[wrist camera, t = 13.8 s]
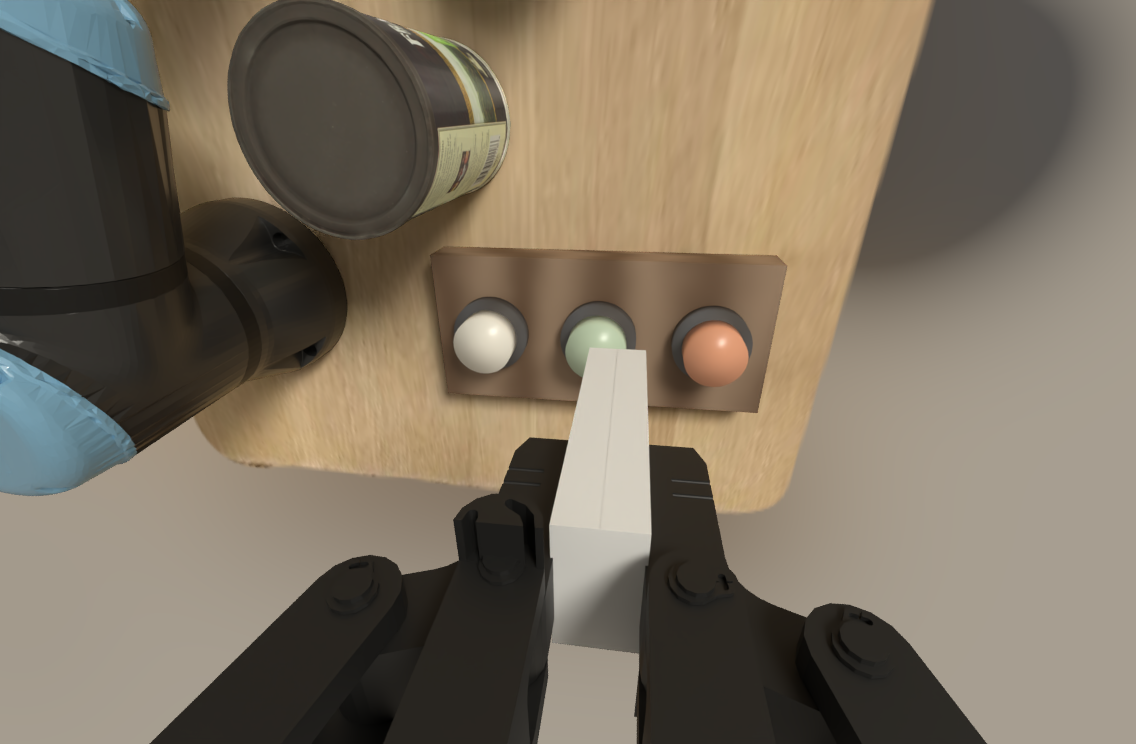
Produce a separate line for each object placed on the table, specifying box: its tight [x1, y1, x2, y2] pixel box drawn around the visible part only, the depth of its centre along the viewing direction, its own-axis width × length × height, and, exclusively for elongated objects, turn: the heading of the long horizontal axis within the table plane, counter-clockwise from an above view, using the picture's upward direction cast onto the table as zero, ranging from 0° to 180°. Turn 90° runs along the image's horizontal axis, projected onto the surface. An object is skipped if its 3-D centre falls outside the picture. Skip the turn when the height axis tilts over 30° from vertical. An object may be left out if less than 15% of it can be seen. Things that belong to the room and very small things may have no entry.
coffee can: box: [227, 0, 510, 240], centre depth 29 cm, size 10×10×14 cm
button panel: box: [430, 247, 787, 413], centre depth 39 cm, size 26×12×4 cm, turn 90°
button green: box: [565, 316, 627, 377], centre depth 36 cm, size 4×4×2 cm
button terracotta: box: [682, 320, 749, 387], centre depth 35 cm, size 4×4×2 cm
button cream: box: [453, 310, 517, 373], centre depth 37 cm, size 4×4×2 cm
